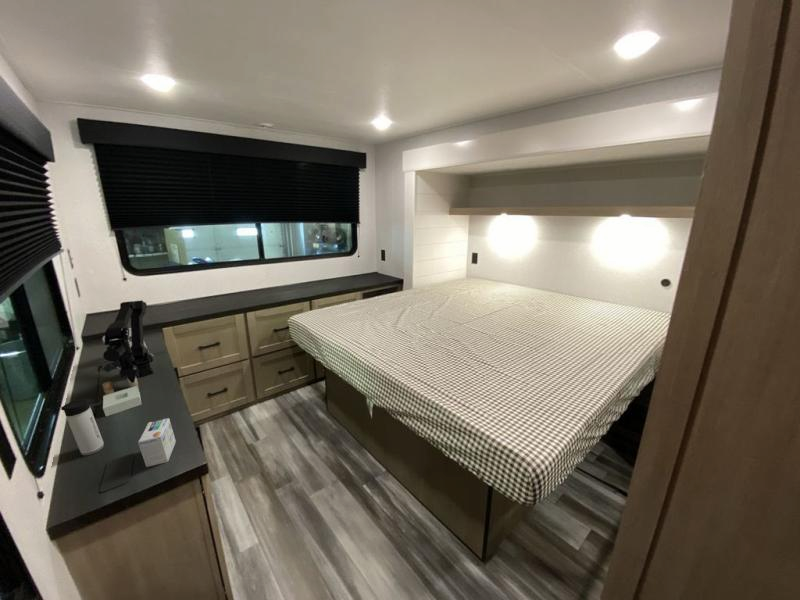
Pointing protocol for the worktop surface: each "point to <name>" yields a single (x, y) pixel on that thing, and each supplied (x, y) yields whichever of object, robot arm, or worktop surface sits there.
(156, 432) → the light bulb box
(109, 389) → the short dowel
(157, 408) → the worktop surface
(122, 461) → the phone
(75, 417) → the travel mug
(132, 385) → the long dowel
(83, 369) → the worktop surface
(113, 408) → the hole block
